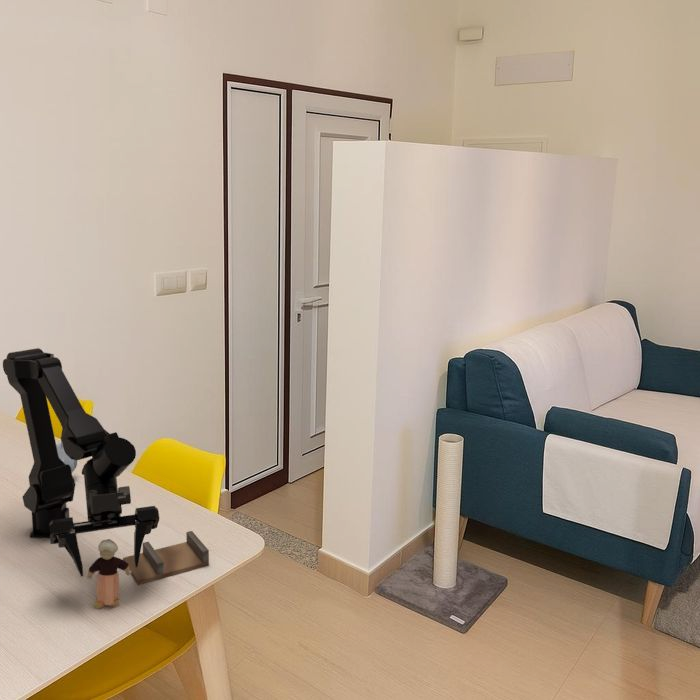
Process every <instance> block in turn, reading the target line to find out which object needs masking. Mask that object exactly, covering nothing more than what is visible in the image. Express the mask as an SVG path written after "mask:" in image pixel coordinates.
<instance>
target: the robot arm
mask: <svg viewBox="0 0 700 700" xmlns="http://www.w3.org/2000/svg"><path fill="white" fill-rule="evenodd" d="M2 368H3V372H4V374H5V375H6V378H7V381H8V384H9V385H10V386H11V387H12V388H13V389H14V390H15V391H16V392H17V393H18V394H19V397H20V400H21V405H22V410H23V414H24V420H25V424H26V429H27V435H28V439H29V443H30V449H31V454H32V457H33V458H32V459H33V465H32V467H31V470H30V472H29V475H28V484H29V487H28V488H27V490H26V491H25V493H24V494H23V495H22V501H23V506H24V507H25V508H26V509H28V510H29V511H31V523H32V531H31V532H30V534H29V537H31V538H49V539H50V540H49V541H50V544H51V545H58V548H65V550H66V551H67V553H68V554H69V556H70V558H71V559H72V561H73V563H74V565H75V568H76V569H77V571H78V573H79V575H80V577H81V578H82V577H84V566H83V561H82V557H81V552H80V548H79V544H78V538H77V535H78V534H86V533H90V532H98V531H104V530H105V531H106V530H112V529H117V528H124V527H130V526H132V527H133V526H134V533H133V543H134V544H133V555H134V563H135V567H138V562H139V556H140V553H141V551H142V547H143V543H144V538H145V536H146V535H149V534H151V532H152V530H156V528H158V524H159V522H160V513H159V512H160V511H159V509H158V508H157V507H156V505H150V506H143V507H142V506H141V507H135V511H134V514H128V515H123V516H122V515H121V514H123V507H122V505H130V504H132V497H131V490H130V486H129V485H127V486H120V487H118V479H117V477H119V476H120V475H121V474H122V473H124V471H126V470H127V468H128V467H129V466H130V465H131V464H133V462H134V461H135V459H136V456H137V452H136V447H135V446H134V444H133V443H131V441H129V440H128V439H127V438H124V437H120V436H119V434H118V433H117V432H112V433H110V432H108V431H107V430H106V429H105V428H104V426H103V425H102V423H100V421H99V420H98V419H97V418H96V417H95V416H93V415H91V414H89V413H88V412H86V410H85V409H84V407H83V406H82V404H81V402H80V400H79V398H78V397H77V394H76V392H75V391H74V389H73V388H72V386H71V384H70V382H69V380H68V378H67V376H66V374H65V372H64V371H63V366H62V361H61V360H60V359H59V357H56V356H55V355H54V353H50V352H45V351H43V350H42V349H41V348H39V347H37V348H31V349H26V350H25V349H24V350H19V351H12V352H9V353H7V355H6V358H4V359H3V360H2ZM48 402H49V404H50V406H51V408H52V410H53V412H54V414H55V416H56V417H57V420H58V422H59V423H60V426H61V428H62V430H61V436H60V442H61V441H62V443H63V448H64V451H65V453H66V455H67V456H69V458H70V459H72V460H73V459H74V460H76V461H77V462H78V461H80V460H83V459H87V458H90V457H92V458H90V459H88V460H86V462H85V464H84V465H83V466H82V470H81V475H83V479H84V481H83V482H84V490H85V502H86V513H87V514H86V515H87V521H80V522H74V518H73V516H72V517H71V516H70V508H69V507H67V503H69V502H70V503H71V502H73V501H74V496H75V489H76V481H75V479H74V476H73V472H71V467H70V466H69V465H68V464H67V465H66V464H65V463H64V462H63V461H62V460H61V459H60V458H59V456H58V451H57V447H56V445H57V443H56V437H55V433H54V427H53V423H52V418H51V414H50V407H49V405H48Z"/></svg>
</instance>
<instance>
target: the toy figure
mask: <svg viewBox="0 0 700 700" xmlns="http://www.w3.org/2000/svg"><path fill="white" fill-rule="evenodd" d="M56 447H57V451H58V456H59V458H60V459H61V460H62V461H63V462H64V463H65V464H66V465H67V464H68V465H69V466H70V467H71V472H72V473H73V472H74V471H75V470H76V468H77V466H78V460H77V461H76V460H74V459H73V460H72V459H70V458H69V456H67V455H66V453H65V451H64V448H63V443H62V441H61V440H60V442H59V443H56Z"/></svg>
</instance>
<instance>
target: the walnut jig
mask: <svg viewBox="0 0 700 700" xmlns="http://www.w3.org/2000/svg"><path fill="white" fill-rule="evenodd" d="M209 551H210V550H209V549H208V548H207V546H205V545H204V543H203V542H202V541H201V539H199V537H198V536H197V535H196V534H195V532H193V530H189V531H187V532H186V541H185V542H181V543H177V544H173V545H169V546H165V547H159V548H158V549H155V548H154V547H153V545H152V544H151V543H150V542H149V541H143V542H142V552H140V556H139V562H138V567H135V563H134V554H132V555H129V556H125V557H123V558H122V560H124V561H125V562H127V563H128V564H129V565H128V566H129V568H130V570H131V571H132V573H131V576H132V577H133V579H134V581H135V582H136V584H137V585H143V584H145V583H149V582H152V581H156V580H160V579H163V578H167V577H171V576H174V575H179V574H181V573H185V572H189V571H190V572H191V571H193V570H196V569H200V568H203V567H209V566H210V564H209V562H210V559H209V558H210V555H209V554H210V552H209Z"/></svg>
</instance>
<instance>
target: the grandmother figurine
mask: <svg viewBox="0 0 700 700" xmlns="http://www.w3.org/2000/svg"><path fill="white" fill-rule="evenodd" d="M97 548H98V552H99V556H100V557H98V558H97V559H95V561H94V562H93V563H92V564H91V565H90V567H89V568H88V571H87V573H86V575H85V578H86V580H91V579H92V577H93V575H94V574H95V573H96V572H98V574H97V576H96V577H97V578H96V601H95V602H94V603H93V608H94V609H102V608H105V606H108V607H109V608H117V607H118V606H120V604H121V603H120V602H121V601H120V599H119V598H120V576H119V572H118V569H119V570H122V571H124V572H125V575H126V576H132V574H131V573H132V571H131V570H130V568H129V566H128V565H129V564H128V563H127V562H125V561H124V560H123V558H122V559H121V558H119V557H117V556H115V554H116V553H117V552H118V548H119V546H118V545H117V543H116V542H115V541H114V540H113V539H110V538H108V539H103V540H101V541H100V542H99V543H98V547H97Z"/></svg>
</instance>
